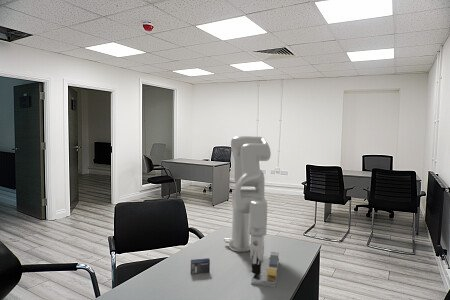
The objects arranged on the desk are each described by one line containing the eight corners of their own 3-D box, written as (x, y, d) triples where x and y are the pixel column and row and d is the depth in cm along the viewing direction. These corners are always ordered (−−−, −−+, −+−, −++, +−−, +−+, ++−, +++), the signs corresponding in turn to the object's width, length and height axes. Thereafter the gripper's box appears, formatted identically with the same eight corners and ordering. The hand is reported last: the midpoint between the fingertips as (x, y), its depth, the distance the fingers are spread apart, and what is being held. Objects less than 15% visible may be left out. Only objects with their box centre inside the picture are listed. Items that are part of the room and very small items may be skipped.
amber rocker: (265, 274, 123) (265, 271, 123) (267, 269, 132) (267, 266, 132) (276, 276, 122) (276, 272, 122) (277, 271, 131) (277, 268, 131)
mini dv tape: (191, 274, 129) (191, 261, 129) (190, 273, 131) (190, 259, 130) (209, 272, 132) (209, 259, 131) (208, 271, 133) (209, 258, 133)
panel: (250, 283, 123) (251, 275, 123) (257, 259, 146) (258, 252, 146) (275, 287, 121) (275, 278, 121) (278, 262, 144) (279, 254, 144)
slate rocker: (268, 265, 135) (268, 263, 135) (270, 253, 144) (270, 251, 144) (278, 266, 134) (278, 264, 134) (279, 255, 143) (279, 252, 143)
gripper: (264, 237, 117) (262, 282, 118) (268, 225, 131) (266, 265, 133) (245, 234, 119) (244, 279, 120) (251, 223, 133) (249, 263, 134)
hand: (256, 272), depth 126 cm, fingers closed
